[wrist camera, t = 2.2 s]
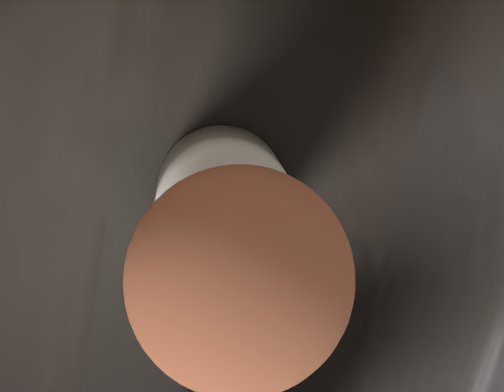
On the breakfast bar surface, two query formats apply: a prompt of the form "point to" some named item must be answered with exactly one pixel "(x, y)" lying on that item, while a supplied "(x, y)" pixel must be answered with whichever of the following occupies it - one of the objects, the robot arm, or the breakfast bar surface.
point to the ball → (239, 280)
